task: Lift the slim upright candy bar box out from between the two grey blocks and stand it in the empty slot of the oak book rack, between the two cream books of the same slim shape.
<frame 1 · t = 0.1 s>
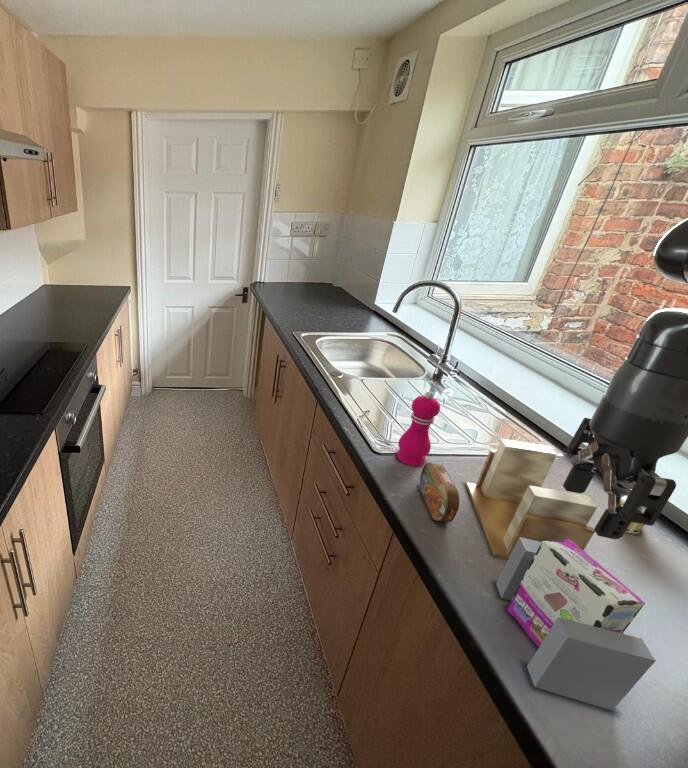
hand: (587, 511, 54), 27 cm above the worktop, tool pointing down, fingers open, 8 cm apart
grey blocks: (545, 639, 66), on the worktop
supplement bottle: (623, 526, 87), on the worktop
tin: (433, 506, 93), on the worktop
candy bar box: (545, 640, 66), on the worktop
book rack: (516, 525, 88), on the worktop
pepper mill: (409, 459, 108), on the worktop
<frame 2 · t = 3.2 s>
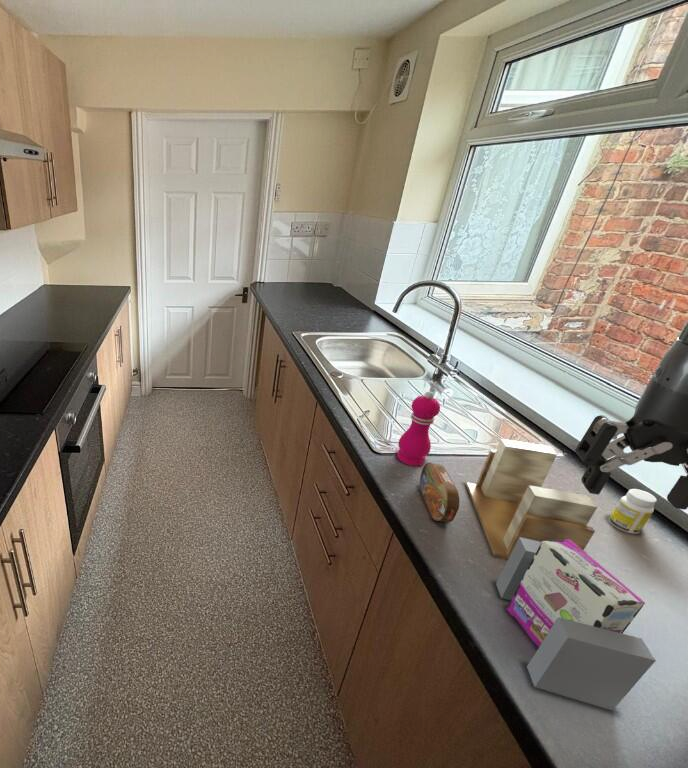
hand: (631, 497, 53), 30 cm above the worktop, tool pointing down, fingers open, 8 cm apart
nothing on the worktop moved.
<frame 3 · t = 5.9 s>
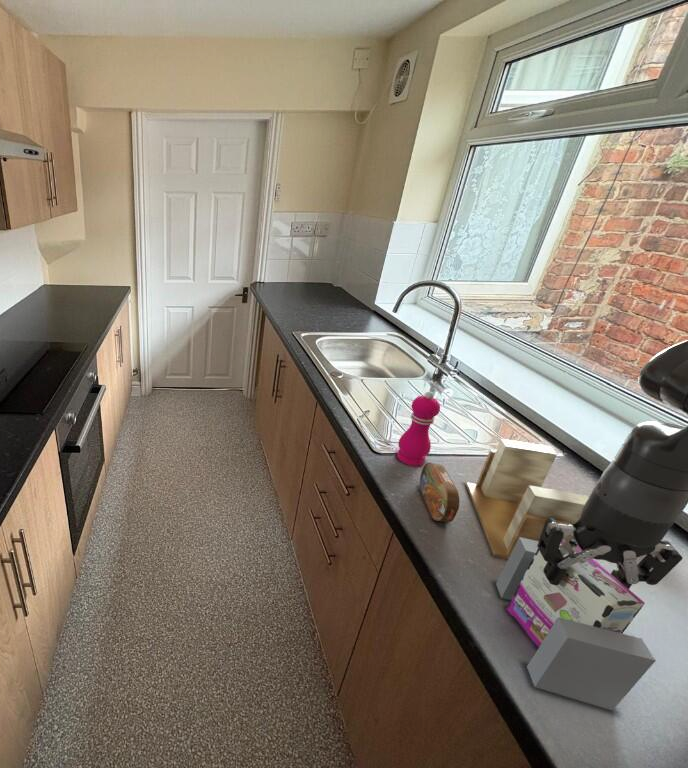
hand: (579, 586, 61), 13 cm above the worktop, tool pointing down, fingers closed on candy bar box, 6 cm apart
candy bar box: (545, 640, 66), on the worktop, touching gripper
everything else where it was.
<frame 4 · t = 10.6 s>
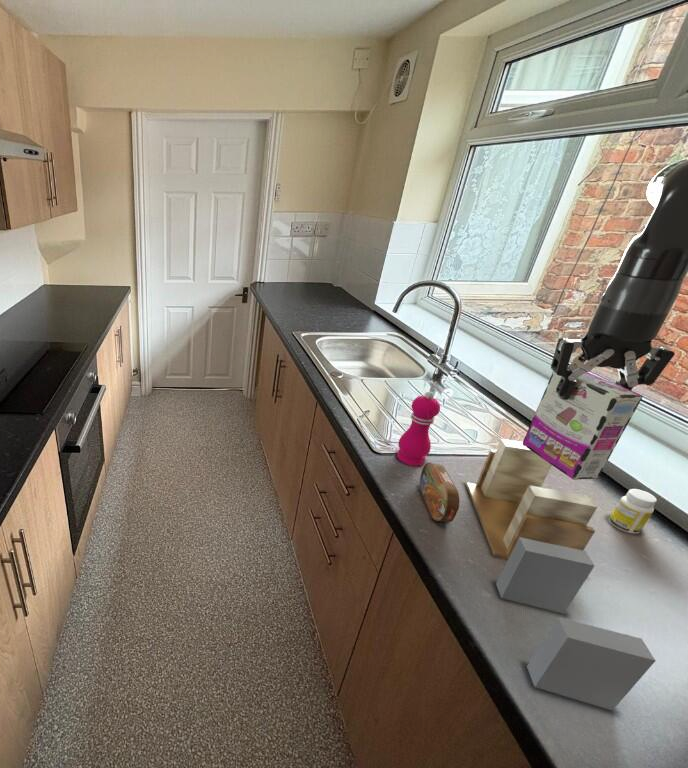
hand: (587, 400, 71), 32 cm above the worktop, tool pointing down, fingers closed on candy bar box, 6 cm apart
candy bar box: (557, 461, 76), point 19 cm above the worktop, touching gripper
everything else where it was.
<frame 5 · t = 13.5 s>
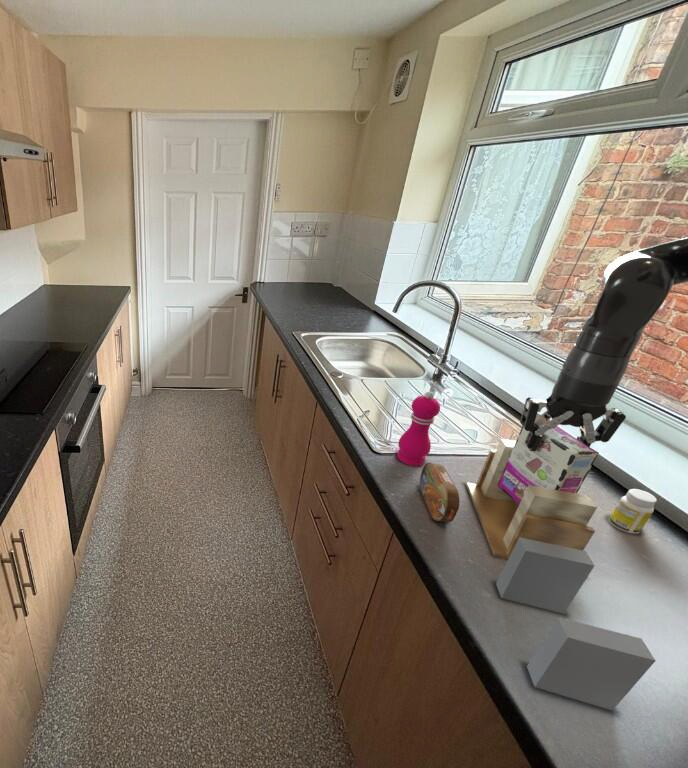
hand: (552, 452, 79), 19 cm above the worktop, tool pointing down, fingers closed on candy bar box, 6 cm apart
candy bar box: (527, 503, 85), point 6 cm above the worktop, touching gripper
everything else where it was.
when the fingers open (14 cm above the worktop, at t = 15.5 s): candy bar box stays where it is, resting on book rack.
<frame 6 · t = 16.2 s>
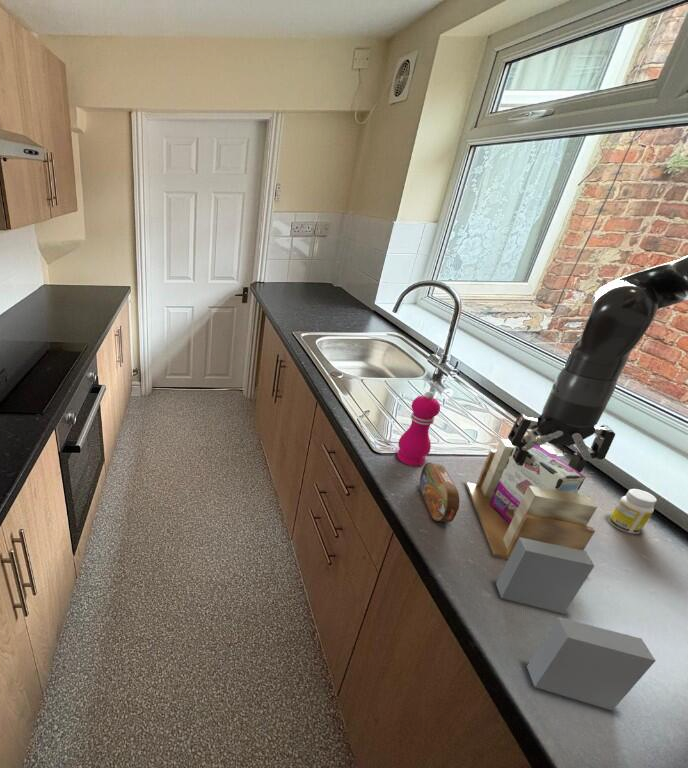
hand: (544, 467, 81), 15 cm above the worktop, tool pointing down, fingers open, 8 cm apart
candy bar box: (518, 522, 87), point 1 cm above the worktop, touching book rack
everything else where it was.
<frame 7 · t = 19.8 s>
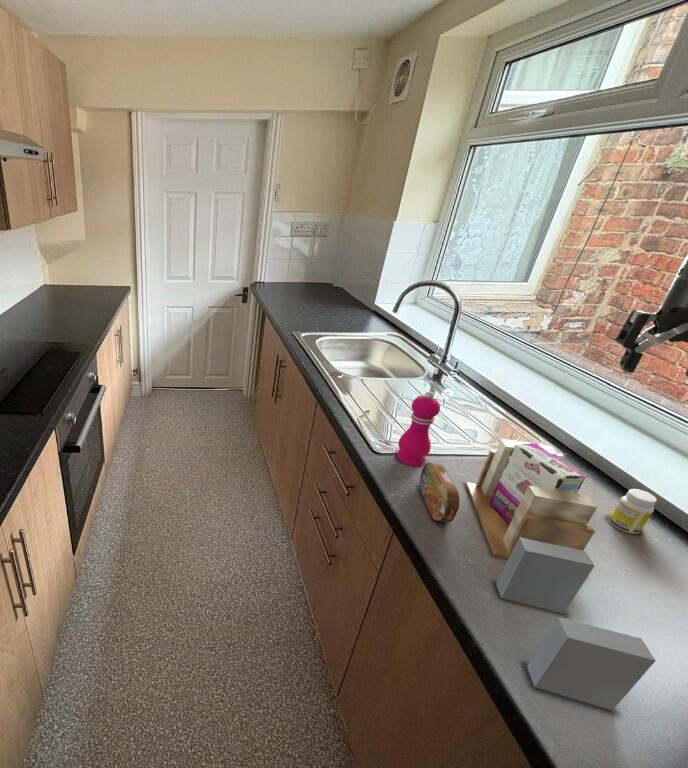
hand: (658, 374, 70), 36 cm above the worktop, tool pointing down, fingers open, 8 cm apart
nothing on the worktop moved.
at the end: candy bar box 0.0 cm off-centre on the book rack, point 0.8 cm above the book rack's base; candy bar box tilted 0°; the gripper is holding nothing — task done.
